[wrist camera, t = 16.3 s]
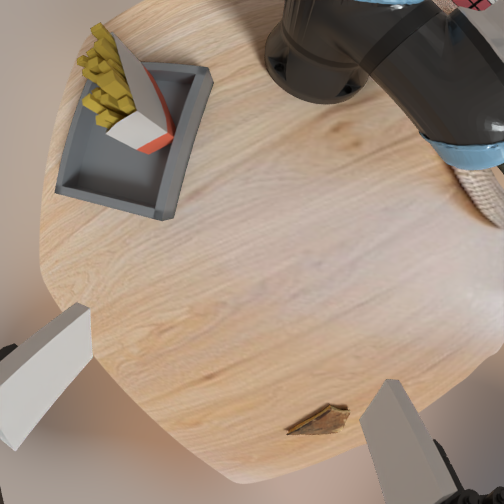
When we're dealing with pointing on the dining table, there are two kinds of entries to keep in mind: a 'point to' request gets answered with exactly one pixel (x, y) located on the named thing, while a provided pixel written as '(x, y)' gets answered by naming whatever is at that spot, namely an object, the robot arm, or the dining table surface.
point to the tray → (131, 160)
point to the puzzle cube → (475, 4)
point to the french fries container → (125, 95)
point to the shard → (322, 422)
